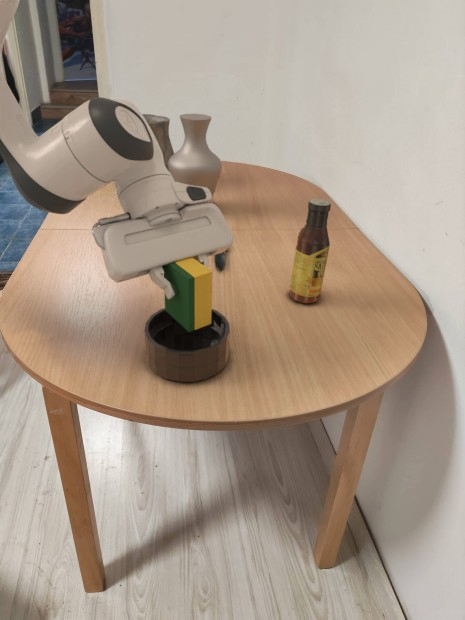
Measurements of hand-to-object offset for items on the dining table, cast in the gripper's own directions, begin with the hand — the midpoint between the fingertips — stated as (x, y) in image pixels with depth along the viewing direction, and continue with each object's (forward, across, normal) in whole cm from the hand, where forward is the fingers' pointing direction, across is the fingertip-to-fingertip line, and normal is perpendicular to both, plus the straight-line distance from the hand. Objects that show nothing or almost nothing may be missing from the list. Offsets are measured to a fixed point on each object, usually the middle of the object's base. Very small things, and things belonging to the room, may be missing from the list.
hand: (189, 291), depth 67 cm
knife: (-11, +27, +29) cm, 41 cm away
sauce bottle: (+7, +30, +12) cm, 33 cm away
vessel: (-49, +36, +67) cm, 90 cm away
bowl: (+8, 0, +9) cm, 13 cm away
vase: (-30, +37, +48) cm, 67 cm away
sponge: (+3, 0, +4) cm, 5 cm away
